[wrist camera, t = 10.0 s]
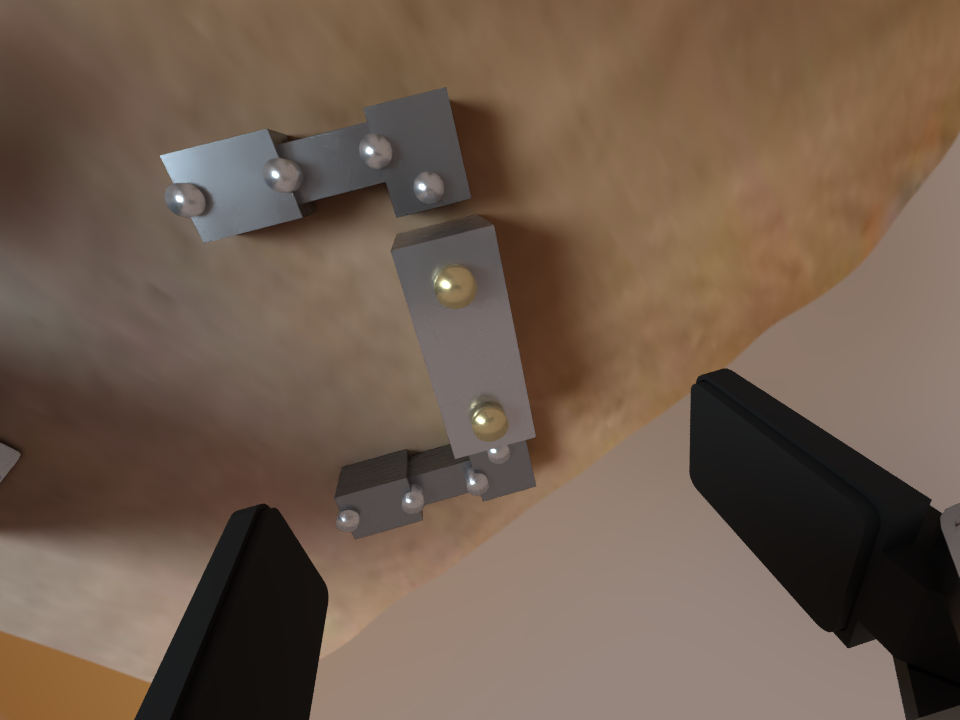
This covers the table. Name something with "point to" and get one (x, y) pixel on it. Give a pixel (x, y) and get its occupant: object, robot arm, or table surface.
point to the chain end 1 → (321, 168)
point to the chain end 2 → (424, 484)
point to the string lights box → (7, 459)
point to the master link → (466, 332)
